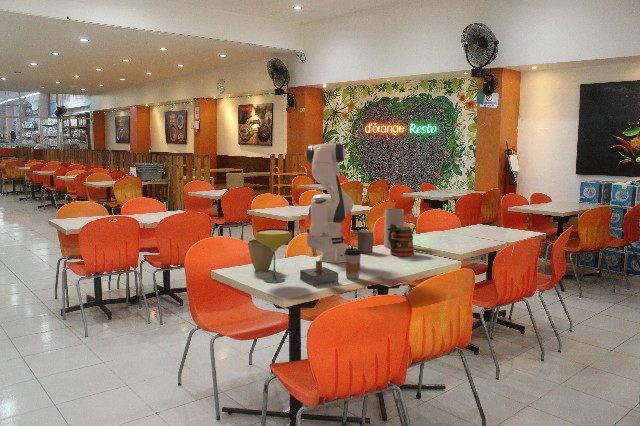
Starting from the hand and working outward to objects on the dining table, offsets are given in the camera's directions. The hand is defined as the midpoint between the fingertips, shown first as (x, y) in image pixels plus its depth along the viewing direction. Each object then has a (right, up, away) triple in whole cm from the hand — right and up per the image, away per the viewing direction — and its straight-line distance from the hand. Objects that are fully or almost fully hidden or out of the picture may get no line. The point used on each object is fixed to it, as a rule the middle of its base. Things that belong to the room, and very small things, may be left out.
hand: (319, 258), depth 265 cm
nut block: (0, -11, +1) cm, 12 cm away
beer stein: (+50, -4, +65) cm, 82 cm away
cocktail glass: (-23, -11, +2) cm, 26 cm away
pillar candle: (+29, -3, +72) cm, 77 cm away
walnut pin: (-1, -11, +1) cm, 12 cm away
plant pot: (-31, -9, +24) cm, 40 cm away
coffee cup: (+17, -11, +7) cm, 21 cm away
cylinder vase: (+49, 0, +90) cm, 103 cm away
